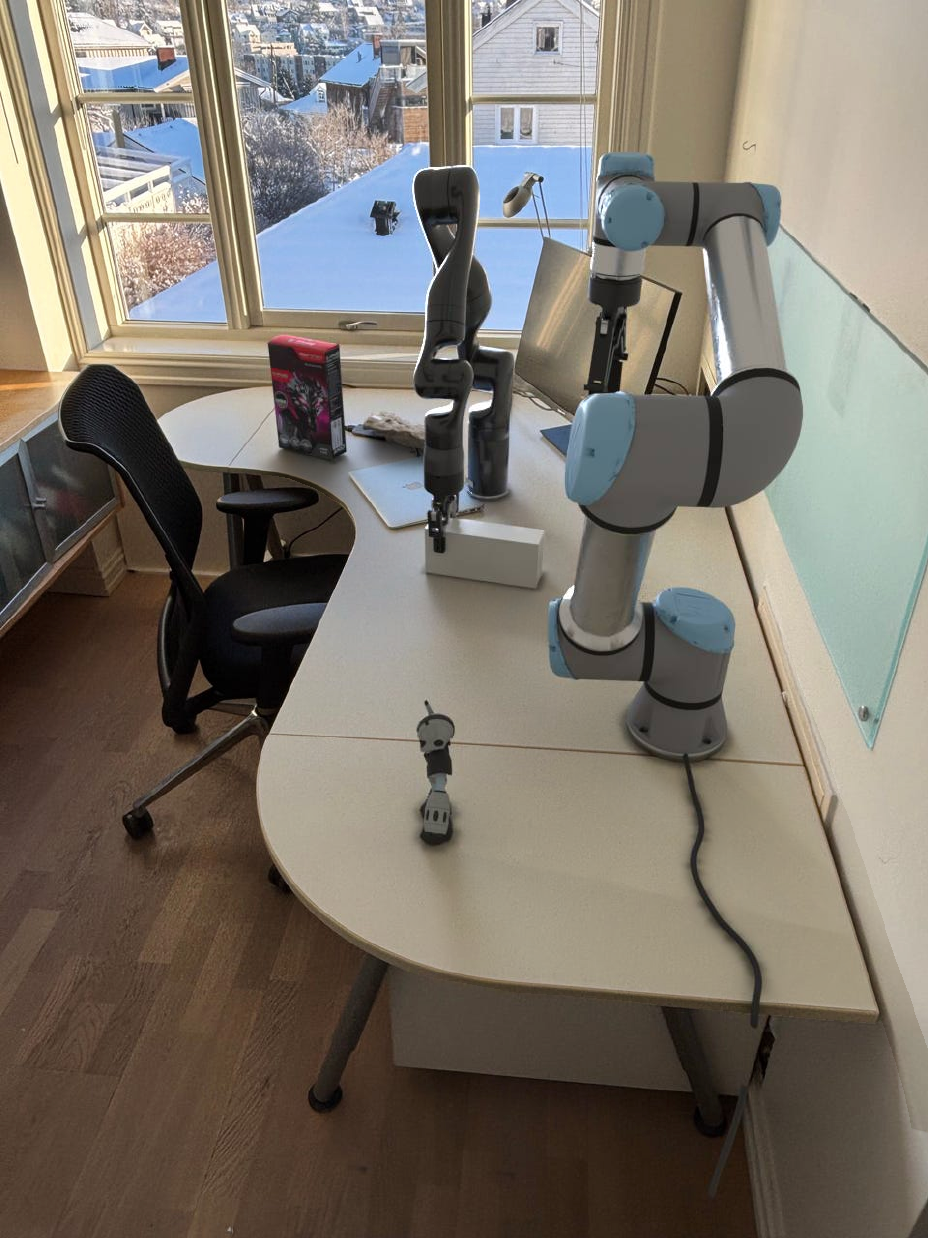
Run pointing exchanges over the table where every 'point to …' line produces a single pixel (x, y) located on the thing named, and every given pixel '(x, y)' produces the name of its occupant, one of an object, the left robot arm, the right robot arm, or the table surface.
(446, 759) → the robot
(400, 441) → the stone
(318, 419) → the graphics card box
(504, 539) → the box
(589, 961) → the table surface
